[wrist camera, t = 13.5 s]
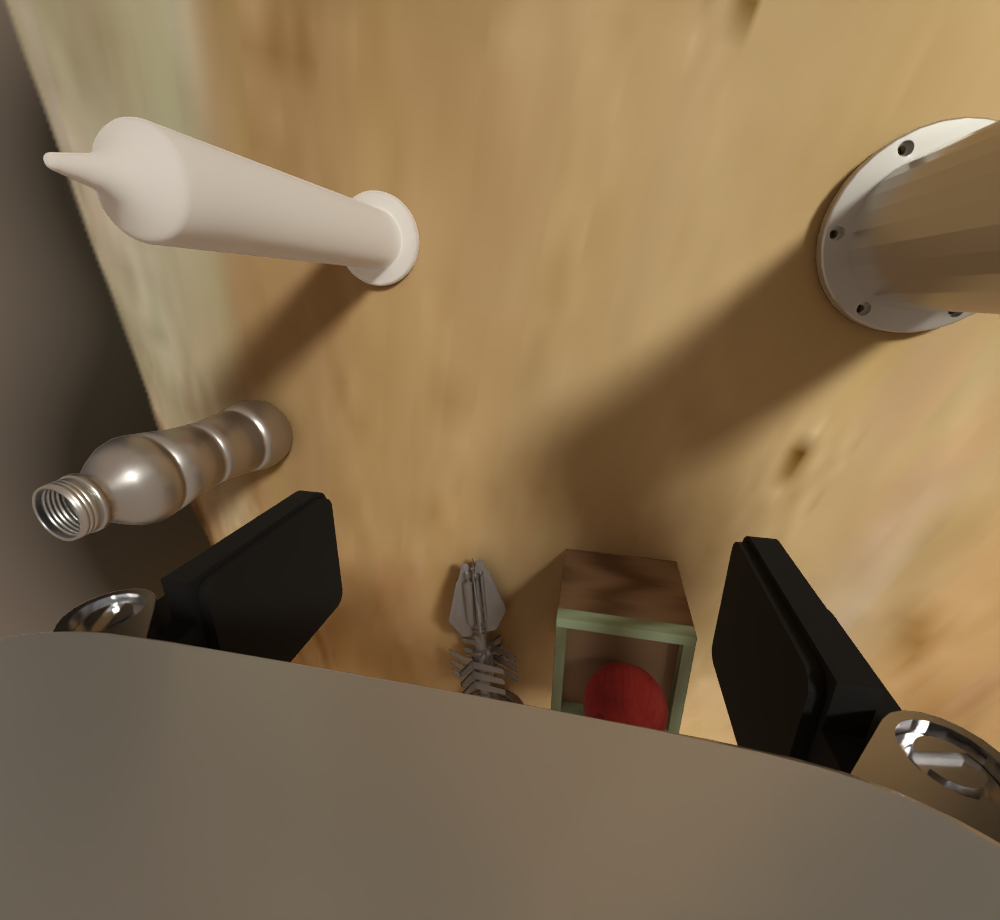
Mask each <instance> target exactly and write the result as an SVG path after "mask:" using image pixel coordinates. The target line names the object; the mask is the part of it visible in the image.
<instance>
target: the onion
mask: <svg viewBox="0 0 1000 920" xmlns="http://www.w3.org/2000/svg"><path fill="white" fill-rule="evenodd" d="M583 707H584V713H585V716H587V717H593V718H598V719H603V720H609V721H614V722H619V723H625V724H630V725H635V726H640V727H646V728H651V729H656V730H662V731H665V729H666V726H667V722H668V708H667V704H666V701H665V697H664V693H663V690H662V688H661V687H660V686H659V685H658V683H657V682H656V681H655V680H654V678H653V677H652V676H651V675H650V674H649V673H648V672H646V671H644V670H643V669H641V668H640V667H638V666H635V665H632V664H629V663H626V662H612V663H609V664H606V665H603V666H601V667H600V668H599V669H598V670H597V671H596V672H595V673H594V674H593V675H592V676H591V678H590V679H589V680H588V683H587V686H586V689H585V693H584V697H583Z"/></svg>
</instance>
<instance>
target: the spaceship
mask: <svg viewBox="0 0 1000 920" xmlns="http://www.w3.org/2000/svg"><path fill="white" fill-rule="evenodd" d="M472 567H473V568H472ZM505 612H506V608H505V606H504V604H503V601H502V599H501V597H500V594H499V592H498V590H497V588H496V585H495V583H494V581H493V578H492V576H491V574H489V573H488V571H487V569H486V567H485V564H484V562H483V561H482V560H478V561H476V565H475V567H474V563H473V559H472V565H471V568H470V567H469V565H468V564H467V563H466V564H462V565H461V569H460V574H459V578H458V580H457V581H456V585H455V590H454V595H453V600H452V605H451V610H450V615H449V620H448V622H449V623H450V624H451V625H452V626H453V627H454V628H455V629H456V630H457V632H458V633H459V634H460V635H461V636H462V637H468V636H474V640H472V639H466V638H462V639H463V643H466V644H470V645H474V646H475V648H474V649H470V648H465V647H464V652H466V653H469V654H472V658H469V657H463V656H461V655H460V654H458V653H456V652H454V651H452V650H451V649H449V651H450V654H451V655H452V656H454V657H455V658H457V659H459V660H460V661H462V662H463V663H465V664H466V666H463V665H461V664H459V663H458V662H456V661H454V660H452V659H451V664H453V665H454V666H456V667H457V668H459V669H460V670H461V671H460V673H459V672H457V671H456V670H454V669H452V673H453V674H454V675H456V676H457V677H459V678H460V679H462V680H463V681H462V682H461V687H463V688H464V687H465V686H466V685H467V684H469V686H468V687H467V688H466V689H465V690H464V691H463V692H462V693H464V694H469V695H474V696H480V697H485V698H491V699H496V700H501V701H507V702H512V703H518V704H523V702H522V701H521V699H520V698H519V697H518V696H517V695H515V694H514V693H512V692H510V691H508V690H505V689H501V688H497V687H493V686H490V683H491V682H493V683H498V684H503V685H505V681H504V679H500V678H496V677H494V673H498V674H504V675H506V676H508V677H510V678H511V679H513V680H515V681H518V680H517V676H515V675H514V674H512V673H510V672H509V671H507V670H505V669H504V668H502V667H501V666H499V665H498V664H499V663H501V664H503V665H504V666H506V667H508V668H510V669H512V670H514V671H516V672H517V668H516V666H514V665H513V664H511V663H509V662H508V661H506V660H504V657H503V656H505V657H507V658H509V659H511V660H513V661H515V662H516V657H515V656H513V655H512V654H510V653H508V652H506V651H505V650H503V646H501V645H499V646H497V645H498V644H499V643H500V642H501V640H502V636H500V635H499V636H498V637H497V638H496V639H494V640H493V641H490V642H488V641H486V634H487V633H488V632H489V631H494V630H496V629H497V628H498V626H499V624H500V622H501V620H502V618H503V616H504V614H505ZM486 632H487V633H486ZM498 654H501V655H500V656H497V655H498ZM466 674H467V677H466V676H465V675H466ZM474 689H475V690H476V689H479V690H476V691H473V690H474ZM472 691H473V692H472ZM523 705H524V704H523Z"/></svg>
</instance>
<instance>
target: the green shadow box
mask: <svg viewBox="0 0 1000 920" xmlns="http://www.w3.org/2000/svg"><path fill="white" fill-rule="evenodd" d="M696 641H697V636H696V632H695V628H694V625H693V621H692V617H691V614H690V610H689V607H688V603H687V599H686V596H685V592H684V588H683V585H682V581H681V577H680V574H679V570H678V566H677V563H676V562H673V561H665V560H656V559H647V558H639V557H630V556H621V555H612V554H604V553H595V552H586V551H578V550H569V549H566V556H565V563H564V570H563V577H562V584H561V591H560V598H559V605H558V612H557V621H556V637H555V653H554V668H553V684H552V700H551V710H555V711H561V712H566V713H571V714H577V715H582V716H585V713H584V707H583V697H584V693H585V689H586V686H587V683H588V680H589V679H590V678H591V676H592V675H593V674H594V673H595V672H596V671H597V670H598V669H599V668H600V667H601V666H603V665H606V664H609V663H612V662H626V663H629V664H632V665H635V666H638V667H640V668H641V669H643V670H644V671H646V672H648V673H649V674H650V675H651V676H652V677H653V678H654V680H655V681H656V682H657V683H658V685H659V686H660V687H661V688H662V690H663V693H664V697H665V701H666V704H667V708H668V722H667V726H666V729H665V731H667V732H672V733H678V734H679V730H680V725H681V719H682V714H683V709H684V704H685V698H686V693H687V688H688V683H689V677H690V672H691V667H692V662H693V656H694V651H695V646H696Z"/></svg>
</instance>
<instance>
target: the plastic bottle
mask: <svg viewBox="0 0 1000 920" xmlns="http://www.w3.org/2000/svg"><path fill="white" fill-rule="evenodd" d="M291 444H292V429H291V426H290V423H289V421H288V419H287V418H286V416H285V415H284V414H283V412H281V411H280V410H279V409H278V408H276V407H275V406H273V405H272V404H270V403H268V402H265V401H261V400H248V401H240V402H237V403H235V404H233V405H231V406H229V407H227V408H225V409H224V410H222V411H221V412H219V413H217V414H215V415H213V416H210V417H208V418H205V419H203V420H201V421H198V422H196V423H193V424H188V425H185V426H180V427H176V428H172V429H168V430H161V431H154V432H146V433H139V434H133V435H126V436H121V437H117V438H113V439H111V440H109V441H107V442H106V443H104V444H103V445H102V446H100V447H98V448H97V449H96V450H95V451H94V452H93V453H92V454H91V456H90V457H89V459H88V460H87V461H86V463H85V464H84V466H83V468H82V470H81V472H80V474H69V475H67V476H64V477H61V478H60V479H59V480H58V481H55V482H52V483H49V484H47V485H44V486H42V487H40V488H38V489H37V490H36V491H35V492H34V493H33V496H32V506H33V510H34V512H35V515H36V516H37V518H38V520H39V522H40V523H41V524H42V526H43V527H44V528H45V529H46V530H47V531H48V532H50V533H51V534H52V535H53V536H55V537H57V538H59V539H61V540H65V541H73V540H75V539H79V538H81V537H83V536H85V535H87V534H89V533H91V532H97V531H99V530H101V529H103V528H105V527H107V526H108V525H109V523H110V522H115V523H120V524H133V525H134V524H135V525H144V524H150V523H155V522H160V521H163V520H165V519H166V518H168V517H170V516H171V515H173V514H175V513H176V512H177V511H179V510H180V509H182V508H183V507H185V506H186V505H188V504H189V503H190V502H192V501H193V500H195V499H196V498H197V497H199V496H200V495H202V494H203V493H205V492H207V491H209V490H210V489H212V488H214V487H216V486H217V485H219V484H221V483H223V482H225V481H227V480H230V479H232V478H235V477H238V476H241V475H243V474H246V473H249V472H254V471H259V470H263V469H266V468H269V467H272V466H274V465H276V464H277V463H278V462H279V461H280V460H282V459H283V458H284V457H285V456H286V455H287V454H288V452H289V450H290V448H291Z"/></svg>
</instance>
